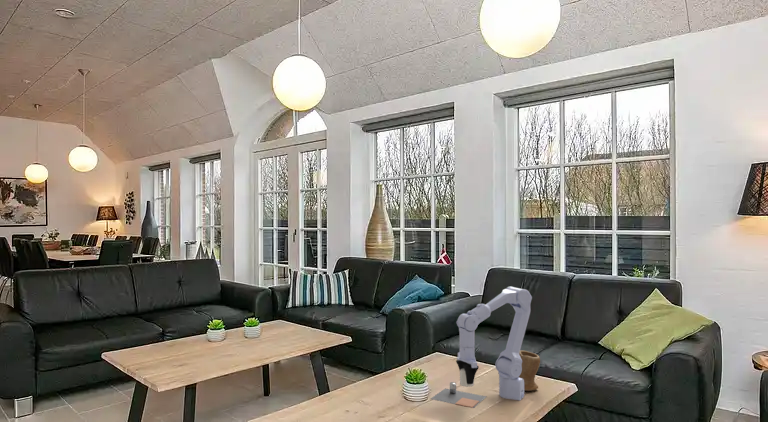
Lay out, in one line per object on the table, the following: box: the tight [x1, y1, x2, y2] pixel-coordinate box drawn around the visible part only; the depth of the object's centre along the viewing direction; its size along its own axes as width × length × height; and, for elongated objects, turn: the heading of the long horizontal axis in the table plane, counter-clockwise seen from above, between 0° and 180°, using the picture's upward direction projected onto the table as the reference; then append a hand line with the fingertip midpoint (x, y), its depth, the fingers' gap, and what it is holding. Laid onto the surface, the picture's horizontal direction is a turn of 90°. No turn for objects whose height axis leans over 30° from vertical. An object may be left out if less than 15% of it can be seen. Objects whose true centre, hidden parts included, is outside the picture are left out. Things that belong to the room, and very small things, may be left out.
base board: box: [430, 388, 487, 409], centre depth 201 cm, size 18×14×1 cm
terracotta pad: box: [454, 398, 480, 409], centre depth 195 cm, size 7×7×1 cm
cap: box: [459, 368, 475, 388], centre depth 195 cm, size 5×5×6 cm
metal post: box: [449, 381, 457, 394], centre depth 206 cm, size 3×3×4 cm
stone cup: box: [519, 349, 541, 392], centre depth 217 cm, size 15×12×15 cm
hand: (467, 381), depth 195 cm, fingers closed on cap, 5 cm apart
